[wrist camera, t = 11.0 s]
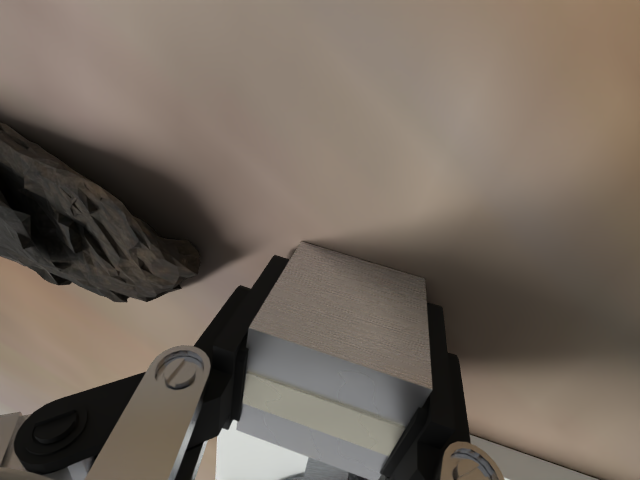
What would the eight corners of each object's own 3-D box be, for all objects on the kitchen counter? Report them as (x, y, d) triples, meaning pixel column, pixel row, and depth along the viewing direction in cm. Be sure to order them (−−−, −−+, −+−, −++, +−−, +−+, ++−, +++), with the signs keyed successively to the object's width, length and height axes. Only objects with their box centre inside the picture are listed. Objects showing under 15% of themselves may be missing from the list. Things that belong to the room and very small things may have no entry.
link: (425, 278, 10) (432, 392, 7) (386, 363, 12) (376, 484, 9) (301, 241, 11) (247, 329, 7) (283, 329, 13) (235, 432, 9)
